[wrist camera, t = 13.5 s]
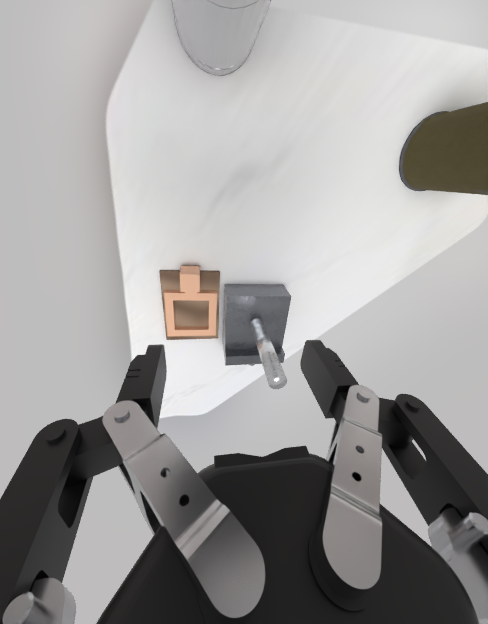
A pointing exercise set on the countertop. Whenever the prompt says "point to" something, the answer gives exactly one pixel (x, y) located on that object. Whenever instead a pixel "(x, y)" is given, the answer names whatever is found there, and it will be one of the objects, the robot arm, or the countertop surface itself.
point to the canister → (448, 152)
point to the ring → (192, 292)
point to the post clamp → (256, 328)
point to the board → (190, 302)
